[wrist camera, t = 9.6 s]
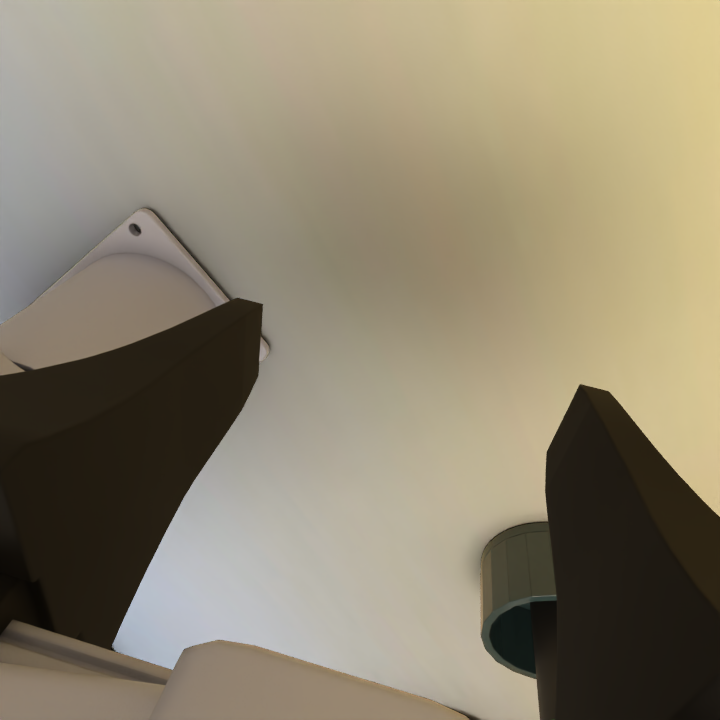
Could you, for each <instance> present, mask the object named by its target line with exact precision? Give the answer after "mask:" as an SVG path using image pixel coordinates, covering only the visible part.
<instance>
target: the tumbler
mask: <svg viewBox="0 0 720 720" xmlns="http://www.w3.org/2000/svg"><path fill="white" fill-rule="evenodd" d="M480 600H481V638H482V641H483V644H484V647H485V649H486V650H487V652H488V653H489V654H490V655H491V656H492V657H493V658H494V659H495V660H496V661H497V662H498V663H500V664H502V665H503V666H505V667H507V668H508V669H510V670H512V671H514V672H516V673H519V674H522V675H525V676H528V677H530V678H534V679H537V678H536V667H535V655H534V644H533V633H532V622H531V610H530V602H535V601H557V597H556V583H555V574H554V566H553V557H552V548H551V540H550V531H549V523H531V524H525V525H520V526H517V527H514V528H511V529H508V530H506V531H504V532H502V533H501V534H499V535H498V536H496V537H495V538H494V539H493V540H491V541H490V543H489V544H488V545H487V546H486V548H485V550H484V552H483V554H482V557H481V573H480Z"/></svg>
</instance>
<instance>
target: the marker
mask: <svg viewBox="0 0 720 720" xmlns="http://www.w3.org/2000/svg"><path fill="white" fill-rule="evenodd" d="M530 610H531V622H532V633H533V644H534V655H535V667H536V678H537V689H538V700H539V712H540V720H555V705H556V671H557V601H535V602H530Z"/></svg>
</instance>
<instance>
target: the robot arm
mask: <svg viewBox="0 0 720 720" xmlns="http://www.w3.org/2000/svg"><path fill="white" fill-rule="evenodd" d="M134 224H137V225H138V226H139V227H140V229H141V233H140V232H138V231H136V230H135V228H134ZM262 310H263V304H260V303H256V302H252V301H248V300H244V299H240V298H236V299H233V300H231V301H230V300H229V299H228V298H227V297H226V296H225V295H224V293H223V292H222V291H221V290H220V289H219V288H218V286H217V285H216V284H215V283H214V282H213V281H212V280H211V278H210V277H209V276H208V275H207V274H206V273H205V271H204V270H203V269H202V268H201V267H200V266H199V264H198V263H197V262H196V261H195V260H194V259H193V258H192V256H191V255H190V254H189V253H188V252H187V251H186V249H185V248H184V247H183V246H182V245H181V244H180V243H179V241H178V240H177V239H176V238H175V237H174V236H173V234H172V233H171V232H170V231H169V230H168V229H167V228H166V226H165V225H164V224H163V223H162V222H161V221H160V219H159V218H158V217H157V216H156V215H155V214H154V213H153V212H152V211H151V210H148V209H146V208H141V209H139V210H138V211H136V212H134V213H133V214H132V215H131V216H130V217H129V218H127V219H126V220H125V221H124V222H123V223H122V224H121V225H120V226H118V227H117V228H116V229H115V230H114V231H113V232H112V233H110V234H109V235H108V236H107V237H106V238H105V239H104V240H103V241H101V242H100V243H99V244H98V245H97V246H96V247H95V248H94V249H92V250H91V251H90V252H89V253H88V254H87V255H86V256H85V257H83V258H82V259H81V260H80V261H79V262H78V263H77V264H76V265H74V266H73V267H72V268H71V269H70V270H69V271H68V272H66V273H65V274H64V275H63V276H62V277H61V278H60V279H59V280H57V281H56V282H55V283H54V284H53V285H52V286H51V287H50V288H48V289H47V290H46V291H45V292H44V293H43V294H42V295H41V296H39V297H38V298H37V299H36V300H35V301H34V302H33V303H31V304H30V305H29V306H28V307H27V308H25V309H24V310H22V311H21V312H19V313H18V314H16V315H15V316H13V317H12V318H10V319H9V320H7V321H6V322H4V323H3V324H1V325H0V720H470V719H469V718H468V717H467V716H465V715H463V714H460V713H458V712H456V711H454V710H452V709H450V708H448V707H445V706H443V705H441V704H439V703H437V702H435V701H432V700H430V699H426V698H423V697H420V696H417V695H413V694H410V693H407V692H404V691H400V690H397V689H394V688H391V687H387V686H384V685H381V684H378V683H375V682H371V681H368V680H365V679H362V678H358V677H355V676H352V675H349V674H345V673H342V672H339V671H336V670H332V669H329V668H326V667H323V666H319V665H316V664H313V663H310V662H306V661H303V660H300V659H297V658H293V657H290V656H287V655H284V654H281V653H277V652H274V651H271V650H268V649H264V648H261V647H258V646H255V645H249V644H242V643H236V642H230V641H224V640H216V641H211V642H207V643H203V644H199V645H194V646H192V647H189V648H186V649H184V650H183V652H182V654H181V656H180V658H179V659H178V661H177V663H176V665H175V667H174V669H173V670H171V669H168V668H164V667H161V666H158V665H155V664H152V663H149V662H146V661H142V660H139V659H136V658H133V657H130V656H127V655H123V654H120V653H117V652H114V651H111V650H110V648H111V646H112V644H113V642H114V639H115V637H116V635H117V633H118V630H119V628H120V626H121V624H122V621H123V619H124V617H125V615H126V613H127V610H128V608H129V606H130V604H131V602H132V600H133V598H134V596H135V593H136V591H137V589H138V587H139V585H140V583H141V581H142V579H143V576H144V574H145V572H146V570H147V568H148V566H149V564H150V562H151V560H152V558H153V556H154V554H155V552H156V550H157V548H158V546H159V544H160V542H161V540H162V538H163V536H164V534H165V532H166V530H167V528H168V527H169V525H170V523H171V521H172V519H173V517H174V515H175V513H176V511H177V509H178V508H179V506H180V504H181V502H182V500H183V498H184V496H185V495H186V493H187V491H188V490H189V488H190V486H191V485H192V483H193V482H194V480H195V479H196V477H197V476H198V474H199V473H200V471H201V470H202V468H203V467H204V465H205V464H206V462H207V461H208V459H209V458H210V456H211V455H212V453H213V452H214V451H215V449H216V448H217V446H218V445H219V443H220V442H221V440H222V439H223V437H224V436H225V434H226V433H227V431H228V430H229V428H230V427H231V425H232V424H233V422H234V421H235V419H236V418H237V416H238V415H239V413H240V412H241V410H242V408H243V406H244V404H245V402H246V400H247V398H248V396H249V394H250V392H251V390H252V388H253V386H254V384H255V382H256V379H257V377H258V372H259V363H260V362H261V361H263V360H264V359H265V358H266V357H267V356H268V354H269V351H270V350H269V346H268V345H267V343H266V342H265V341H264V340H263V338H262V337H261V326H262ZM545 493H546V504H547V513H548V522H549V531H550V540H551V548H552V557H553V566H554V574H555V583H556V597H557V671H556V705H555V720H720V517H719V516H718V515H717V514H716V513H715V512H714V511H713V510H712V509H711V508H710V507H709V506H708V505H707V504H706V503H705V502H704V501H703V500H702V499H701V498H700V497H699V496H698V495H697V494H696V493H695V492H694V491H693V490H692V489H691V488H690V487H689V485H688V484H687V483H686V482H685V481H684V480H683V479H682V478H681V477H680V476H679V475H678V474H677V472H676V471H675V470H674V469H673V468H672V467H671V466H670V465H669V463H668V462H667V461H666V460H665V459H664V458H663V456H662V455H661V454H660V453H659V452H658V450H657V449H656V448H655V447H654V446H653V444H652V443H651V442H650V441H649V440H648V438H647V437H646V436H645V435H644V433H643V432H642V431H641V430H640V428H639V427H638V426H637V425H636V423H635V422H634V421H633V420H632V418H631V417H630V416H629V415H628V413H627V412H626V411H625V410H624V409H623V407H622V406H621V405H620V404H619V402H618V401H617V400H616V399H615V398H614V397H613V396H612V395H611V393H610V392H609V391H605V390H601V389H597V388H593V387H589V386H585V385H581V384H580V385H579V387H578V389H577V391H576V393H575V395H574V398H573V400H572V402H571V404H570V406H569V408H568V410H567V412H566V414H565V416H564V418H563V420H562V422H561V424H560V426H559V428H558V430H557V432H556V434H555V436H554V438H553V440H552V442H551V444H550V446H549V449H548V451H547V458H546V484H545Z"/></svg>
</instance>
